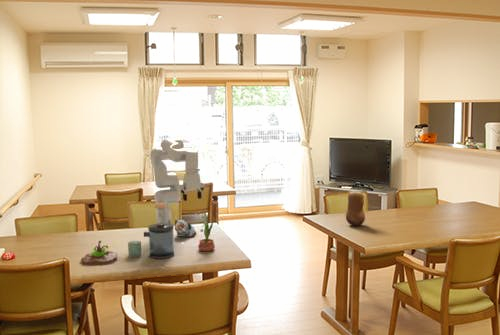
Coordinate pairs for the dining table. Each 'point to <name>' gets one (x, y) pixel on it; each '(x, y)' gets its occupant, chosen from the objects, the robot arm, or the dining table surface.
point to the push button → (160, 208)
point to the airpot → (160, 240)
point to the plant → (99, 256)
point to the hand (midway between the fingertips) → (192, 199)
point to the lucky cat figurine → (184, 228)
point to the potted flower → (206, 235)
